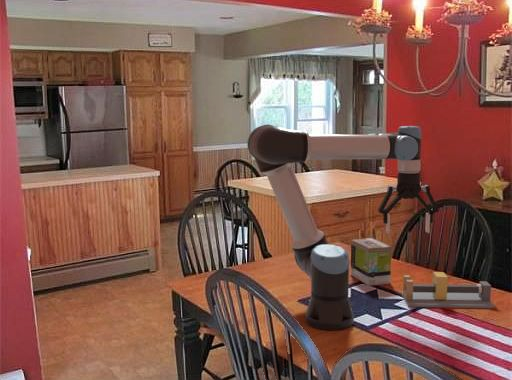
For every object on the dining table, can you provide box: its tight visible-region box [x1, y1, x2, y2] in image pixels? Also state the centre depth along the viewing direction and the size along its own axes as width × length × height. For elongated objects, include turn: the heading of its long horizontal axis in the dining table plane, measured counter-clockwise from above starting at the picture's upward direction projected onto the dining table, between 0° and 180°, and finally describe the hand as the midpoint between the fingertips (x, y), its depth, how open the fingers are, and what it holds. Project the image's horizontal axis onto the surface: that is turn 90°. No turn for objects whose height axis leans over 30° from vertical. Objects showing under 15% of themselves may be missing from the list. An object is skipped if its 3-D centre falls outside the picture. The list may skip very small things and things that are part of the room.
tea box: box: [350, 237, 392, 286], centre depth 208 cm, size 15×10×15 cm, turn 17°
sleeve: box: [432, 271, 449, 300], centre depth 184 cm, size 5×4×8 cm
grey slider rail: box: [401, 274, 495, 309], centre depth 184 cm, size 12×28×8 cm, turn 85°
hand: (407, 232), depth 186 cm, fingers open, 13 cm apart
